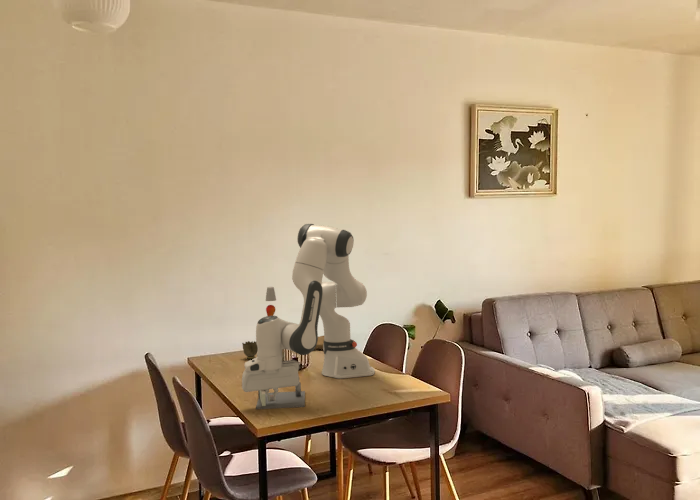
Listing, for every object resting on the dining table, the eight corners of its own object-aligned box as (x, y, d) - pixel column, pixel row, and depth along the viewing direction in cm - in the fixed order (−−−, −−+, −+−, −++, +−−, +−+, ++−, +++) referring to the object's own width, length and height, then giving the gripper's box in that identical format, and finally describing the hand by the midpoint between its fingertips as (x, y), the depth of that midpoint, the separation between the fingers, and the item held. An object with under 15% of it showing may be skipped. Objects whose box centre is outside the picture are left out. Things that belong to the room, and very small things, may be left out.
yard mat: (304, 392, 236) (304, 391, 236) (304, 406, 218) (304, 405, 218) (259, 394, 235) (259, 393, 235) (255, 409, 217) (255, 407, 217)
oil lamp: (305, 349, 313) (304, 333, 313) (329, 345, 322) (329, 329, 322) (317, 353, 304) (317, 336, 304) (342, 348, 313) (341, 332, 313)
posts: (301, 396, 231) (300, 375, 230) (301, 398, 229) (300, 376, 228) (258, 398, 230) (258, 377, 229) (258, 400, 228) (257, 378, 227)
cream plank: (259, 397, 227) (259, 384, 227) (263, 397, 227) (262, 384, 227) (262, 406, 217) (261, 392, 217) (265, 406, 217) (265, 391, 217)
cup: (250, 356, 300) (250, 340, 300) (262, 358, 296) (261, 341, 295) (239, 359, 294) (239, 343, 294) (250, 361, 290) (250, 344, 289)
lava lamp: (274, 365, 281) (271, 288, 279) (259, 363, 285) (256, 287, 283) (286, 361, 288) (284, 286, 286) (271, 359, 293) (268, 285, 291)
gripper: (296, 357, 226) (298, 394, 227) (240, 363, 220) (242, 401, 221) (300, 361, 220) (302, 399, 221) (242, 367, 214) (244, 407, 215)
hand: (271, 400), depth 221 cm, fingers closed
